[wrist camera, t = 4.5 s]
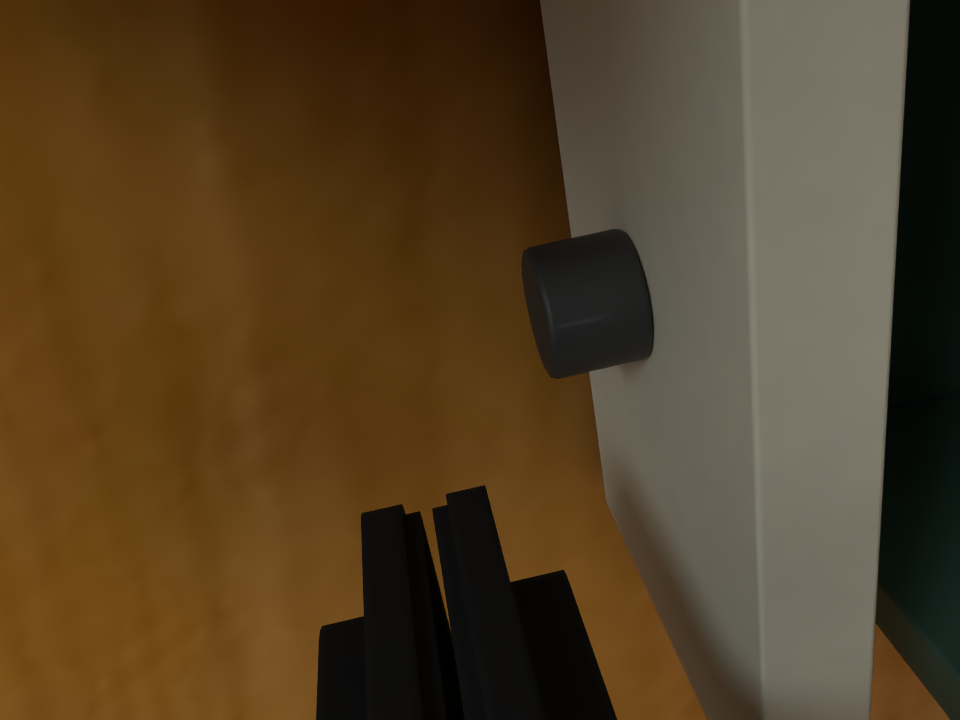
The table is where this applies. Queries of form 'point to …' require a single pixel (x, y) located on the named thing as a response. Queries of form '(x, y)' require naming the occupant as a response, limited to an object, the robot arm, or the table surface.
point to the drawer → (769, 329)
